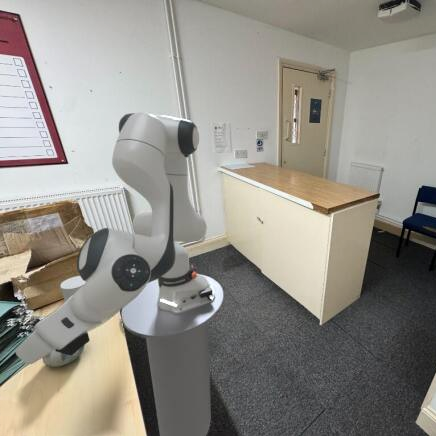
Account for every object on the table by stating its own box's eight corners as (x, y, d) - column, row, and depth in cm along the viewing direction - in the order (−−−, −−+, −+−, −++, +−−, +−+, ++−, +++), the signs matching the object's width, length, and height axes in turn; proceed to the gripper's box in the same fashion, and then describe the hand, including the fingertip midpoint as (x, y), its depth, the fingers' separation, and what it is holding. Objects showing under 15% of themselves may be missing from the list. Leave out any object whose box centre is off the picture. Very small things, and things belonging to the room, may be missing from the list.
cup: (100, 302, 94) (95, 277, 90) (80, 317, 87) (73, 290, 83) (83, 299, 95) (77, 274, 91) (61, 312, 88) (53, 286, 84)
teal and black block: (74, 336, 59) (66, 308, 56) (89, 340, 58) (82, 312, 55) (55, 351, 55) (45, 321, 52) (71, 355, 54) (62, 325, 51)
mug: (85, 339, 78) (79, 316, 75) (91, 366, 70) (84, 341, 67) (44, 356, 72) (35, 331, 68) (45, 387, 64) (35, 361, 60)
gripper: (124, 269, 59) (98, 293, 64) (24, 330, 40) (-3, 358, 45) (141, 287, 60) (114, 309, 65) (52, 355, 41) (23, 379, 46)
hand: (66, 329), depth 55 cm, fingers closed on teal and black block, 4 cm apart
